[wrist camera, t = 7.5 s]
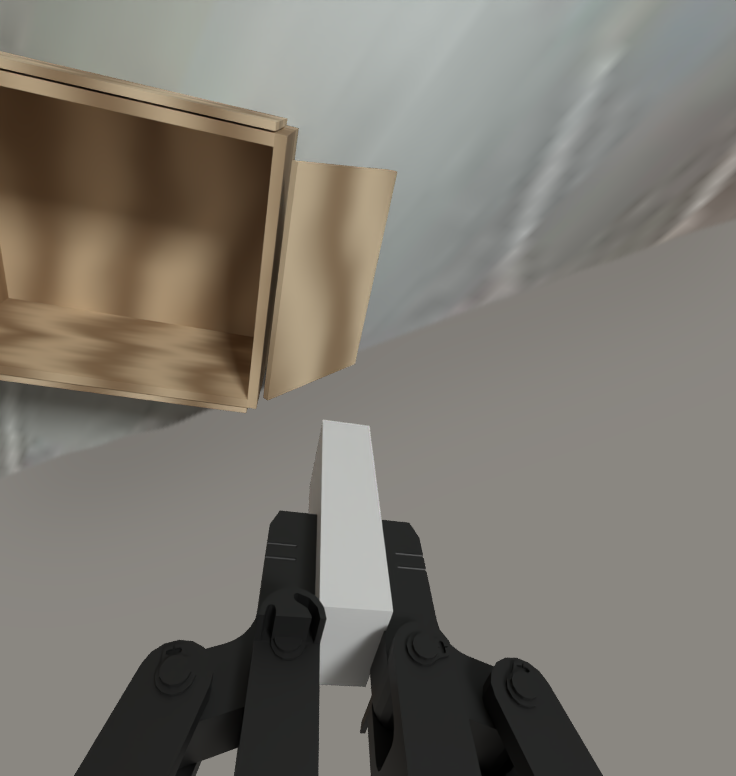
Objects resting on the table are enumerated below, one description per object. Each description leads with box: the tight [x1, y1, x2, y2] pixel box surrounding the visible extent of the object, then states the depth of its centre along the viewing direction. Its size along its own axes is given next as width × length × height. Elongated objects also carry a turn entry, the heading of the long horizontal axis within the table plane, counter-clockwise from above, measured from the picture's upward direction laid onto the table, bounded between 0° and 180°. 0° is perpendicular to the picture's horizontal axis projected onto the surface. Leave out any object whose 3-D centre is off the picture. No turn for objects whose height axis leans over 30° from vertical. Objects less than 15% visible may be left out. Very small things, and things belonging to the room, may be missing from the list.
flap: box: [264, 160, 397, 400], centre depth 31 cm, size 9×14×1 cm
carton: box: [0, 51, 298, 413], centre depth 30 cm, size 20×17×10 cm
